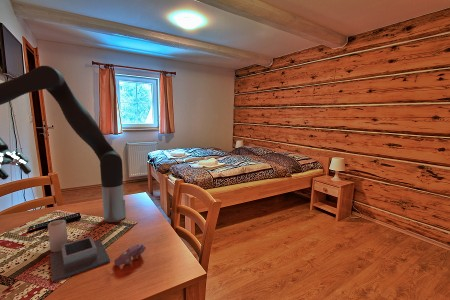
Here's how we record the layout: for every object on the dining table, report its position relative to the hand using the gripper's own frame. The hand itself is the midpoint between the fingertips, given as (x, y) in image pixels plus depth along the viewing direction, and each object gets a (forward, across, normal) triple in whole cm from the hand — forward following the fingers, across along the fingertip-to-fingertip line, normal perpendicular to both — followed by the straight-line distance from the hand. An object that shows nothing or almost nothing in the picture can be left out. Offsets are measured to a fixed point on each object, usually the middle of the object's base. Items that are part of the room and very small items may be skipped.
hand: (18, 175), depth 84 cm
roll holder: (+39, -6, -2) cm, 39 cm away
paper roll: (+30, 0, +8) cm, 31 cm away
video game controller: (+51, -5, -15) cm, 54 cm away
